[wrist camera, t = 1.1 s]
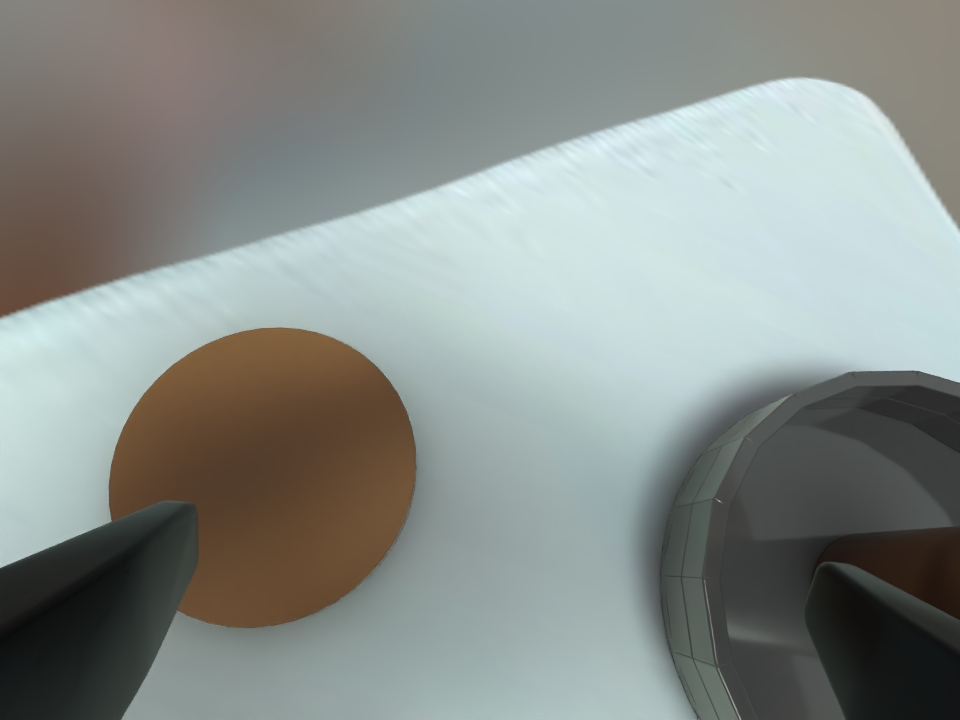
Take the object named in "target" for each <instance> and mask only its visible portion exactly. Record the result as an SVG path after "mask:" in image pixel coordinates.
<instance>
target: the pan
mask: <svg viewBox="0 0 960 720" xmlns="http://www.w3.org/2000/svg"><path fill="white" fill-rule="evenodd" d="M953 526H960V383H958V382H955V381H951V380H948V379H944V378H941V377H937V376H934V375H930V374H927V373H923V372H920V371H859V372H848V373H845V374H843V375H840V376H837V377H835V378H832V379H829V380H827V381H824V382H821V383H819V384H816V385H814V386H811V387H808V388H806V389H803V390H800V391H798V392H795V393H792V394H790V395H788V396H786V397H784V398H782V399H780V400H778V401H775V402H773V403H771V404H769V405H767V406H765V407H763V408H761V409H758V410H756V411H754V412H752V413H750V414H748V415H746V416H745V417H744V418H742V419H741V420H740V421H739V422H738V423H736V424H735V425H733V426H732V427H731V428H729V429H728V430H727V431H726V432H724V433H723V434H722V435H720V436H719V437H718V438H717V439H716V440H715V441H714V442H713V443H712V444H711V445H710V446H709V447H708V448H707V449H706V450H705V451H704V452H703V453H702V455H701V456H700V457H699V459H698V460H697V462H696V463H695V464H694V466H693V467H692V469H691V470H690V471H689V473H688V475H687V477H686V479H685V481H684V482H683V484H682V486H681V488H680V490H679V492H678V494H677V496H676V499H675V502H674V505H673V508H672V511H671V514H670V516H669V519H668V523H667V528H666V533H665V538H664V543H663V549H662V562H661V575H660V577H661V598H662V610H663V616H664V622H665V628H666V634H667V639H668V642H669V646H670V649H671V653H672V656H673V660H674V663H675V667H676V670H677V672H678V674H679V677H680V679H681V682H682V684H683V687H684V689H685V692H686V694H687V696H688V699H689V701H690V702H691V704H692V706H693V708H694V710H695V712H696V713H697V715H698V717H699V719H700V720H845V718H844V716H843V714H842V712H841V709H840V707H839V705H838V702H837V700H836V698H835V695H834V693H833V691H832V688H831V686H830V683H829V681H828V679H827V676H826V674H825V672H824V669H823V667H822V665H821V662H820V660H819V658H818V655H817V653H816V650H815V648H814V646H813V643H812V641H811V639H810V636H809V634H808V632H807V629H806V627H805V624H804V619H803V608H804V604H805V601H806V598H807V595H808V592H809V589H810V586H811V583H812V580H813V575H814V571H815V567H816V565H817V563H818V560H819V559H820V557H821V555H822V554H823V552H824V551H825V550H826V549H827V548H828V547H829V546H830V545H831V544H832V543H833V542H835V541H837V540H838V539H840V538H842V537H845V536H847V535H851V534H857V533H870V532H884V531H898V530H912V529H926V528H940V527H953Z"/></svg>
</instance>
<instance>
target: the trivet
mask: <svg viewBox="0 0 960 720" xmlns="http://www.w3.org/2000/svg"><path fill="white" fill-rule="evenodd" d="M416 469H417V467H416V449H415V442H414V437H413V431H412V427H411V424H410V421H409V418H408V415H407V412H406V409H405V407H404V405H403V403H402V401H401V399H400V397H399V395H398V393H397V392H396V390H395V389H394V387H393V386H392V384H391V383H390V381H389V380H388V379H387V378H386V376H385V375H384V374H383V373H382V372H381V371H380V370H379V369H378V367H377V366H375V365H374V364H373V363H372V362H371V361H370V360H369V359H367V358H366V357H365V356H364V355H362V354H361V353H359V352H358V351H356V350H355V349H353V348H352V347H350V346H348V345H346V344H344V343H342V342H340V341H338V340H336V339H334V338H331V337H328V336H325V335H322V334H319V333H316V332H311V331H306V330H301V329H292V328H261V329H255V330H249V331H243V332H239V333H236V334H232V335H229V336H225V337H223V338H220V339H218V340H215V341H213V342H210V343H208V344H206V345H204V346H202V347H200V348H198V349H197V350H195V351H193V352H191V353H189V354H188V355H186V356H185V357H184V358H182V359H181V360H179V361H178V362H177V363H175V364H174V365H172V366H171V367H170V368H169V369H168V370H167V371H166V372H165V373H163V374H162V375H161V376H160V377H159V378H158V379H157V380H156V381H155V382H154V383H153V384H152V386H151V387H150V388H149V389H148V390H147V391H146V392H145V393H144V395H143V396H142V398H141V399H140V401H139V402H138V403H137V405H136V406H135V408H134V409H133V411H132V413H131V414H130V416H129V418H128V420H127V422H126V424H125V425H124V427H123V430H122V432H121V435H120V437H119V440H118V443H117V445H116V448H115V452H114V456H113V460H112V464H111V471H110V480H109V507H110V513H111V519H112V522H113V521H115V520H117V519H120V518H122V517H125V516H127V515H129V514H132V513H134V512H137V511H139V510H141V509H144V508H146V507H149V506H151V505H154V504H156V503H158V502H161V501H164V500H172V501H182V502H191V503H193V504H194V505H195V506H196V508H197V512H198V540H199V557H198V563H197V567H196V570H195V572H194V575H193V577H192V579H191V581H190V583H189V586H188V588H187V590H186V592H185V594H184V596H183V599H182V601H181V603H180V605H179V607H178V611H180V612H182V613H184V614H186V615H187V616H190V617H193V618H196V619H198V620H201V621H204V622H207V623H211V624H217V625H222V626H227V627H243V628H255V627H265V626H274V625H278V624H282V623H287V622H291V621H295V620H298V619H300V618H303V617H306V616H308V615H311V614H314V613H316V612H318V611H320V610H322V609H324V608H326V607H328V606H330V605H332V604H334V603H336V602H337V601H339V600H340V599H342V598H343V597H345V596H346V595H347V594H349V593H350V592H352V591H353V590H355V589H356V588H357V587H358V586H359V585H360V584H361V583H362V582H363V581H365V580H366V579H367V578H368V577H369V576H370V575H371V574H372V573H373V572H374V571H375V569H376V568H377V567H378V566H379V565H380V564H381V562H382V561H383V560H384V559H385V557H386V556H387V554H388V553H389V551H390V550H391V548H392V547H393V545H394V544H395V542H396V540H397V538H398V536H399V534H400V532H401V530H402V528H403V526H404V524H405V521H406V519H407V516H408V513H409V510H410V507H411V503H412V499H413V494H414V490H415V481H416Z"/></svg>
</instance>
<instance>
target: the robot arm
mask: <svg viewBox="0 0 960 720" xmlns="http://www.w3.org/2000/svg"><path fill="white" fill-rule="evenodd" d="M198 557H199V540H198V512H197V508H196V506H195V505H194V504H193V503H191V502H182V501H172V500H164V501H161V502H158V503H156V504H154V505H151V506H149V507H146V508H144V509H141V510H139V511H137V512H134V513H132V514H129V515H127V516H125V517H122V518H120V519H117V520H115V521H113V522H110V523H108V524H105V525H103V526H101V527H98V528H96V529H93V530H91V531H89V532H86V533H84V534H81V535H79V536H76V537H74V538H72V539H69V540H67V541H64V542H62V543H60V544H57V545H55V546H52V547H50V548H48V549H45V550H43V551H40V552H38V553H36V554H33V555H31V556H28V557H26V558H24V559H21V560H19V561H16V562H14V563H12V564H9V565H7V566H4V567H2V568H0V720H121V719H122V717H123V715H124V714H125V712H126V710H127V708H128V707H129V705H130V703H131V702H132V700H133V698H134V697H135V695H136V693H137V692H138V690H139V688H140V686H141V684H142V683H143V681H144V679H145V677H146V676H147V674H148V672H149V670H150V668H151V666H152V664H153V662H154V660H155V657H156V655H157V653H158V651H159V649H160V647H161V645H162V642H163V640H164V638H165V636H166V634H167V631H168V629H169V627H170V625H171V623H172V620H173V618H174V616H175V614H176V612H177V610H178V607H179V605H180V603H181V601H182V599H183V596H184V594H185V592H186V590H187V588H188V586H189V583H190V581H191V579H192V577H193V575H194V572H195V570H196V567H197V563H198ZM803 619H804V624H805V627H806V629H807V632H808V634H809V636H810V639H811V641H812V643H813V646H814V648H815V650H816V653H817V655H818V658H819V660H820V662H821V665H822V667H823V669H824V672H825V674H826V676H827V679H828V681H829V683H830V686H831V688H832V691H833V693H834V695H835V698H836V700H837V702H838V705H839V707H840V709H841V712H842V714H843V716H844V718H845V720H960V620H958V619H956V618H954V617H952V616H950V615H949V614H947V613H945V612H943V611H941V610H939V609H937V608H935V607H933V606H931V605H929V604H927V603H926V602H924V601H922V600H920V599H918V598H916V597H914V596H912V595H910V594H908V593H906V592H904V591H903V590H901V589H899V588H897V587H895V586H893V585H891V584H889V583H887V582H885V581H883V580H881V579H880V578H878V577H876V576H874V575H872V574H870V573H868V572H866V571H864V570H862V569H860V568H858V567H857V566H854V565H852V564H848V563H837V562H824V563H821V564H820V565H819V566H818V567H817V569H816V571H815V574H814V577H813V580H812V583H811V586H810V589H809V592H808V595H807V598H806V601H805V604H804V608H803Z"/></svg>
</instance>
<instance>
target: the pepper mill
mask: <svg viewBox="0 0 960 720" xmlns="http://www.w3.org/2000/svg"><path fill="white" fill-rule="evenodd" d="M824 562H837V563H848V564H852V565H854V566H857V567H858V568H860V569H862V570H864V571H866V572H868V573H870V574H872V575H874V576H876V577H878V578H880V579H881V580H883V581H885V582H887V583H889V584H891V585H893V586H895V587H897V588H899V589H901V590H903V591H904V592H906V593H908V594H910V595H912V596H914V597H916V598H918V599H920V600H922V601H924V602H926V603H927V604H929V605H931V606H933V607H935V608H937V609H939V610H941V611H943V612H945V613H947V614H949V615H950V616H952V617H954V618H956V619H958V620H960V526H953V527H940V528H926V529H912V530H898V531H884V532H870V533H857V534H851V535H847V536H845V537H842V538H840V539H838V540H837V541H835V542H833V543H832V544H831V545H830V546H829V547H828V548H827V549H826V550H825V551H824V552H823V554H822V555H821V557H820V559H819V560H818V563H817V565H816V567H815V571H816V569H817V567H818V566H819V565H820V564H821V563H824ZM815 571H814V574H815ZM813 577H814V575H813Z"/></svg>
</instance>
